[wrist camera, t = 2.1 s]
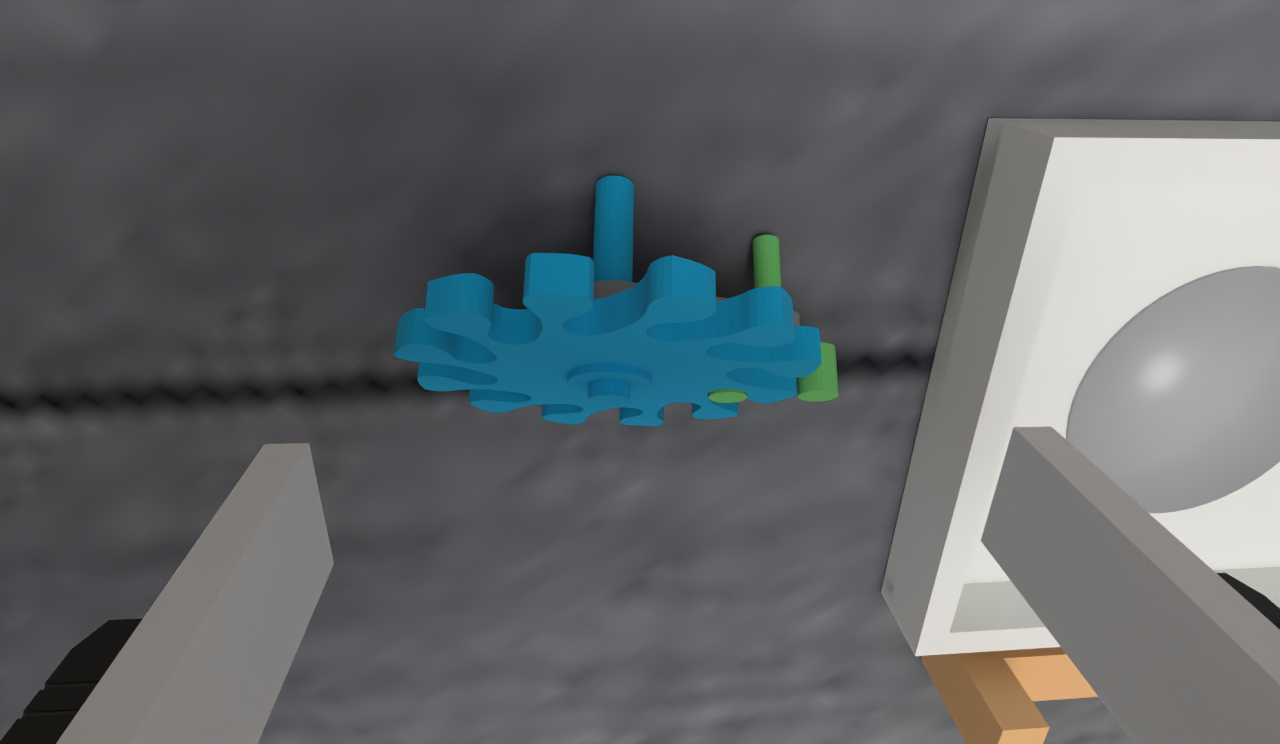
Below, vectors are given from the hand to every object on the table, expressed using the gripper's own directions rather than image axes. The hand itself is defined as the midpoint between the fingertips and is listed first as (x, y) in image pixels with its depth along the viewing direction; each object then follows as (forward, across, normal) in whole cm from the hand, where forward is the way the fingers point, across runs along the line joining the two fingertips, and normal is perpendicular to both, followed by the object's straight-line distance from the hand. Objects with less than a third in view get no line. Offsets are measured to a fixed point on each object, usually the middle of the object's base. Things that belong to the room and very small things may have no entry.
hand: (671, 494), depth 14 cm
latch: (+9, +16, -14) cm, 23 cm away
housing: (+9, +18, -5) cm, 21 cm away
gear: (+9, 0, 0) cm, 9 cm away
